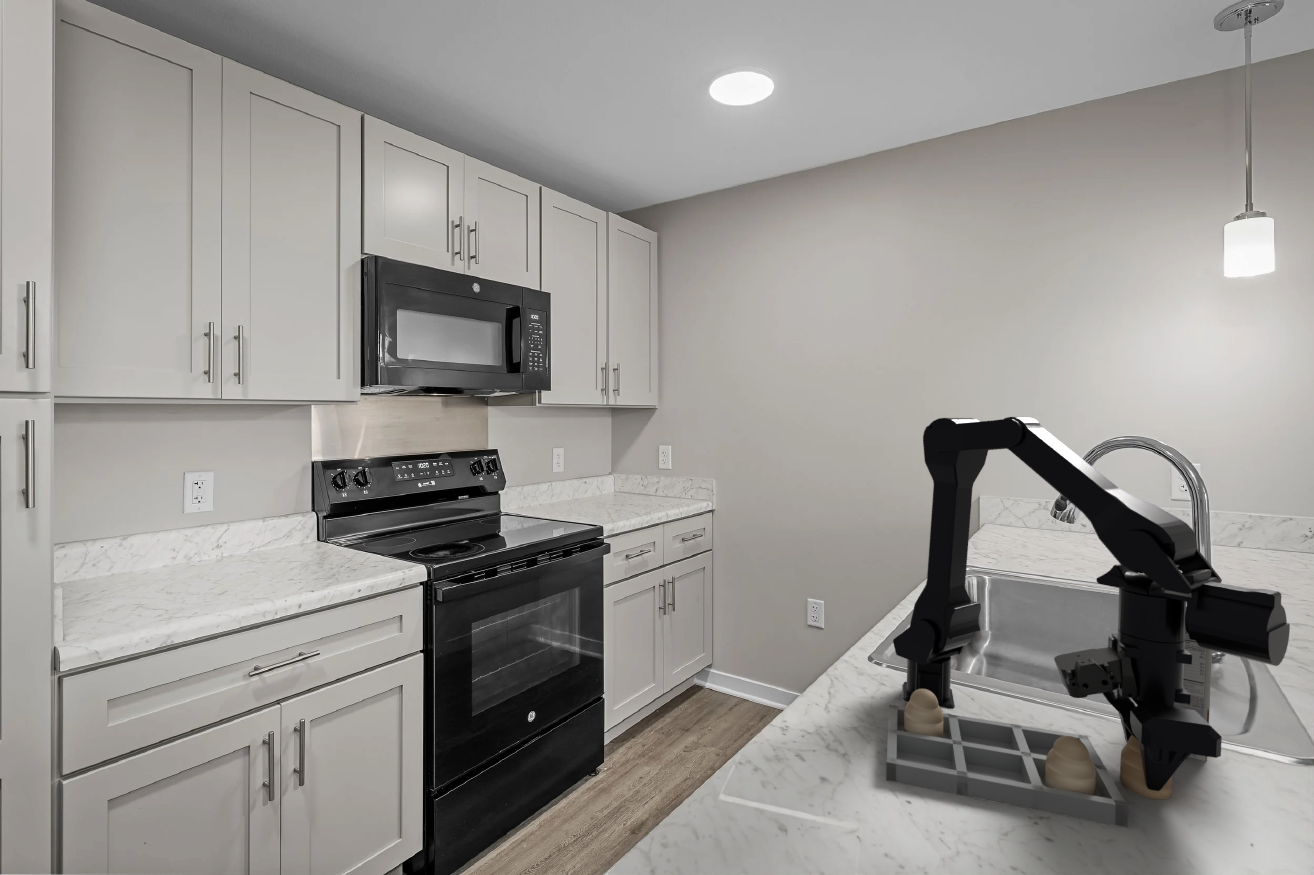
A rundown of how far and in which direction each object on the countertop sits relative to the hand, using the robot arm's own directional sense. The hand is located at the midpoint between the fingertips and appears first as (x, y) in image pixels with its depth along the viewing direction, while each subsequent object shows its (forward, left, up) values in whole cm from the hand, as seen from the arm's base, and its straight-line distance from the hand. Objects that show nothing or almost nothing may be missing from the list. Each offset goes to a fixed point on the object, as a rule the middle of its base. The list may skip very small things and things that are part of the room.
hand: (1145, 777), depth 70 cm
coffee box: (-14, +7, -2) cm, 16 cm away
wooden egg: (0, 0, -1) cm, 1 cm away
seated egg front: (+5, -8, -1) cm, 9 cm away
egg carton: (+1, -15, -1) cm, 15 cm away
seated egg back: (-2, -22, -1) cm, 22 cm away
